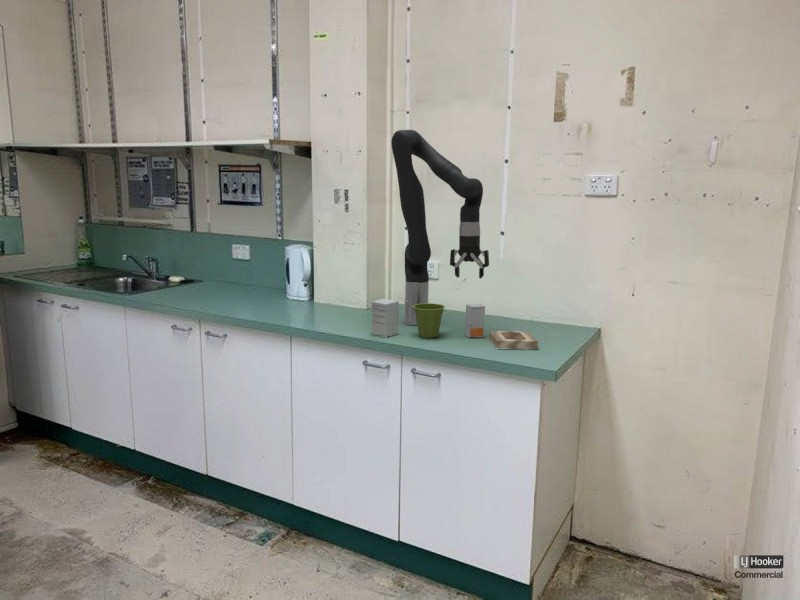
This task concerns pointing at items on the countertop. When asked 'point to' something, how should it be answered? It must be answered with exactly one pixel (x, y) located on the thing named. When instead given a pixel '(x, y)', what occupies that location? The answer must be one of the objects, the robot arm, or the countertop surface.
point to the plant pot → (428, 319)
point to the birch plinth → (513, 339)
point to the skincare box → (474, 320)
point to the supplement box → (385, 317)
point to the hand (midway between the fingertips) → (469, 277)
